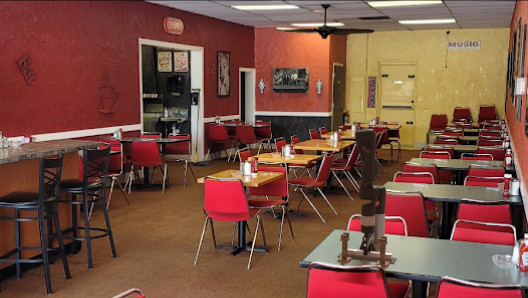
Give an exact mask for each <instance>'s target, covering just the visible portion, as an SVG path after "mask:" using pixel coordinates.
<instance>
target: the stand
mask: <svg viewBox="0 0 528 298" xmlns="http://www.w3.org/2000/svg"><path fill="white" fill-rule="evenodd" d="M350 240H351V238H350V232H347V231H346V232H345V231H343V233H342V234H340V239H339V241H340V242H341V252H342V256H340V257H337V263H347V264H349V263H350V262H351V261H352V260H353V259H352V258H351V257H347V251H348V249H349V248H348V247H349V246H348V243H349V242H348V241H350ZM387 244H389V242H388V236H386V235H384V236H381V238H379V243H377V246H379V252H380V261H377V262H375V265H381V266H382V267H381V268H385V269H386V268H387V269H388V267H389V265H390V263H389V262H385V253H387V252H386V250H387V249H386V247H387Z"/></svg>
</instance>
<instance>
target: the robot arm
mask: <svg viewBox="0 0 528 298" xmlns="http://www.w3.org/2000/svg"><path fill="white" fill-rule="evenodd" d="M354 138H355V143H356V147H357V150H358V153H359V157H360V162H361V163H360V165H361V167H360V174H361V175H360V176H361V177H360V178H361V179H360V185H359V188H358V193H357V196H358V198H359V200H362V201H369V202H367V203H364V204H363V203H362V205H361V209H360V210H361V212H360V215H361V216H360V233H361V234H364V235H363V236H362V238H361V239H362V240H361V243H362V248H363V255H365V256H367V255H368V251H371V244H372V240H373V242H374V244H375V243H376V244H378V243H379V238H381V236H386V235H385V232H386V231H385V229H386V228H385V227H386V225H385V224H386V201H387V189H386V186H382V185H374V184H373V183H374V182H375V179H376V178H377V176H378V174H379V173H380V167H379V161H378V160H377V158H376V151H377V149H376V148H377V134H376V130H375V129H373V128H368V129H358V130H356V131H355V134H354ZM366 147H369V150H368V149H366ZM377 202H378V204H376V203H377Z"/></svg>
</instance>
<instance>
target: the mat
mask: <svg viewBox="0 0 528 298" xmlns="http://www.w3.org/2000/svg"><path fill="white" fill-rule="evenodd" d="M340 256H342V251H341V252H340V253H339V254H338V255H337V258H339V257H340ZM347 257H351V258H352V259H351V260H358V261H359V260H360V261H367V262H375V263H377V261H380V259H373V258H365V257H356V256H347ZM396 261H397V257H393V256H392V260H385V262H389V264H393V265H394V264H395V263H396Z"/></svg>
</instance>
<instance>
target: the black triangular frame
mask: <svg viewBox="0 0 528 298" xmlns="http://www.w3.org/2000/svg"><path fill="white" fill-rule="evenodd" d="M358 250H363V248H362V242H361V243H360V245H359V249H358ZM371 251H375V252H376V246H375V243H374V242H373V240H372V244H371Z"/></svg>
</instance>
